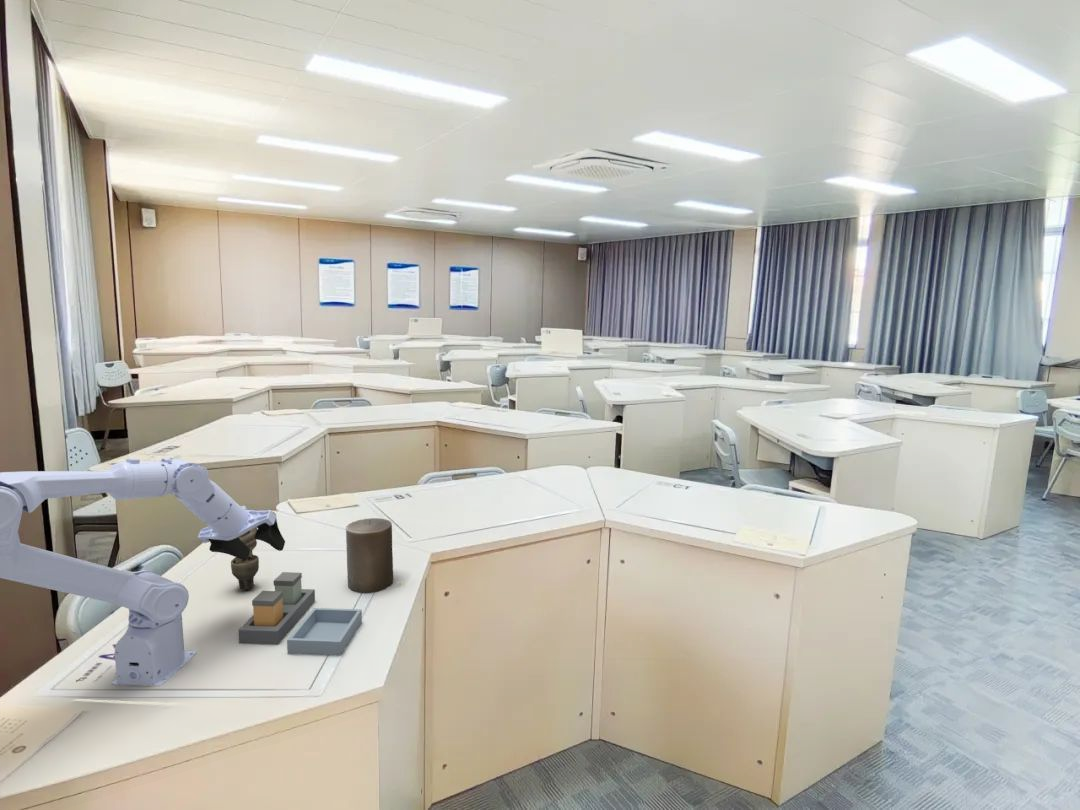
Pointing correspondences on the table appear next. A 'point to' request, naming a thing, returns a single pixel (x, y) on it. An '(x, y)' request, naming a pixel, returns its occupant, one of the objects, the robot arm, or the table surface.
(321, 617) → the parts tray
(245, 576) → the light bulb
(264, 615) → the block
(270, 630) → the block
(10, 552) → the robot arm
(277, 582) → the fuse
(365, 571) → the pillar candle
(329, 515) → the table surface
